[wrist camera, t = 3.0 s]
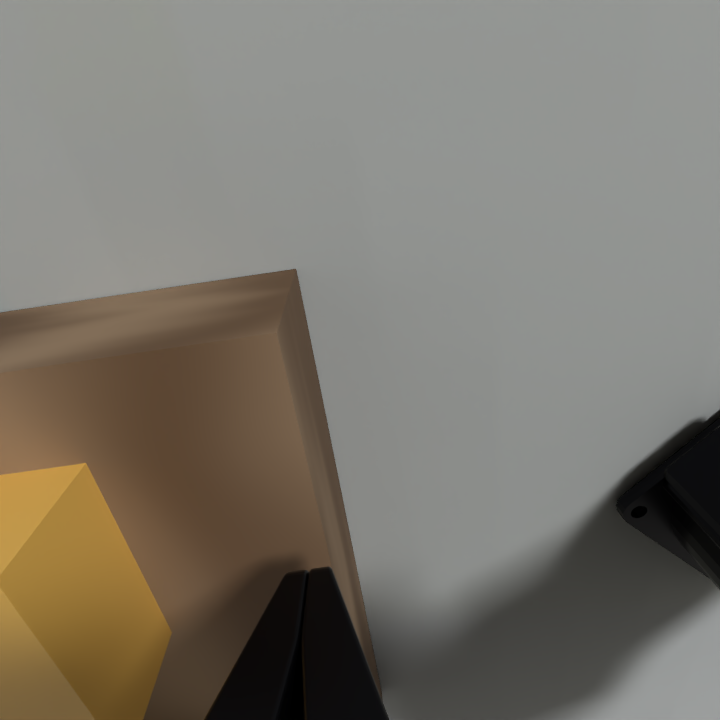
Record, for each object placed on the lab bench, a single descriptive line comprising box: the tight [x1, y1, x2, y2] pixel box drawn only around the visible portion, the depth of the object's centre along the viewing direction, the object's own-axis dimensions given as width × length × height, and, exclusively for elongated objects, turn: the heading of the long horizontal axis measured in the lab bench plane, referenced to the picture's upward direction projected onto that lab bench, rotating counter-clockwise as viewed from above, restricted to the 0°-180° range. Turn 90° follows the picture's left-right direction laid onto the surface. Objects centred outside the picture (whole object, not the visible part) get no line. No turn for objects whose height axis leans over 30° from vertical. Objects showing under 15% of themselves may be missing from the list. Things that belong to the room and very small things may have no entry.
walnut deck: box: [0, 269, 383, 720], centre depth 13 cm, size 16×18×4 cm
